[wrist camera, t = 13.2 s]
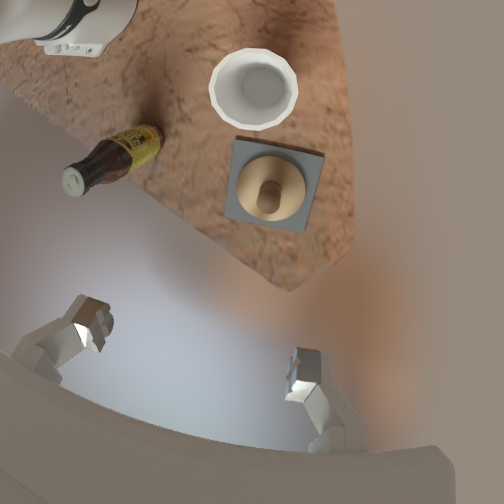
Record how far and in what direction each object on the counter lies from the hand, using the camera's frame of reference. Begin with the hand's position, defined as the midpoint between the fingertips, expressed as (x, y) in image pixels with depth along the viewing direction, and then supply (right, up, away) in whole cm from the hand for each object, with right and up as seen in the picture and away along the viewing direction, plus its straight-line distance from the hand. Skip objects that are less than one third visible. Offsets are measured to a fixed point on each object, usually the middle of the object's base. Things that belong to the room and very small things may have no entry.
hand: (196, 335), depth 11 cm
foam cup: (+4, +28, +25) cm, 38 cm away
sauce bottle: (-15, +23, +32) cm, 42 cm away
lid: (+5, +14, +34) cm, 37 cm away
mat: (+5, +14, +34) cm, 38 cm away
